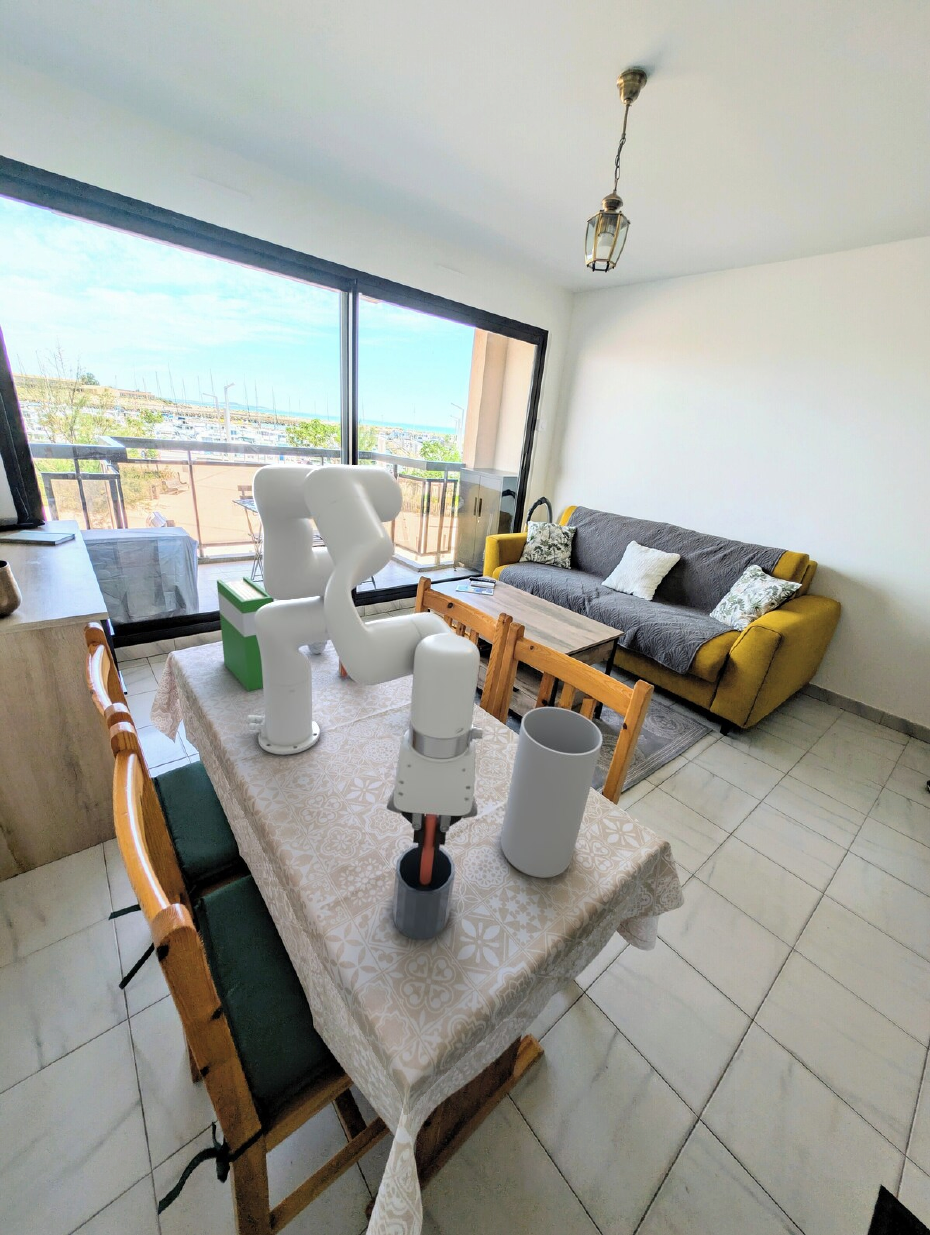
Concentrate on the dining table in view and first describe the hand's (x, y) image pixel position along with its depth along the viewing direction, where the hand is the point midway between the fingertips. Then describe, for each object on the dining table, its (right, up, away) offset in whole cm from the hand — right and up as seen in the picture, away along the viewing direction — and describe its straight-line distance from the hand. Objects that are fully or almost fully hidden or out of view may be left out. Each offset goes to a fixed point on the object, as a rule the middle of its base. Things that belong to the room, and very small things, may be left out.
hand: (428, 844), depth 64 cm
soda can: (-27, +15, +67) cm, 74 cm away
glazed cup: (-2, -12, +5) cm, 13 cm away
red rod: (-1, -6, +2) cm, 7 cm away
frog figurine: (-40, +20, +77) cm, 89 cm away
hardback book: (-53, +16, +62) cm, 83 cm away
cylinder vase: (+17, -10, +18) cm, 27 cm away
